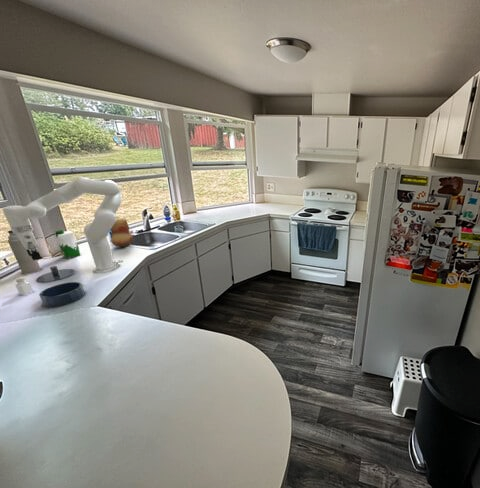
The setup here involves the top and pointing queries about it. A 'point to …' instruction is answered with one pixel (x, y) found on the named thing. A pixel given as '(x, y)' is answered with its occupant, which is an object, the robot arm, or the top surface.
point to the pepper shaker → (23, 286)
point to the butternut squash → (121, 233)
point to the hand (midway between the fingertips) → (35, 257)
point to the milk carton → (67, 243)
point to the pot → (62, 294)
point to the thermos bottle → (22, 255)
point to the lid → (55, 274)
